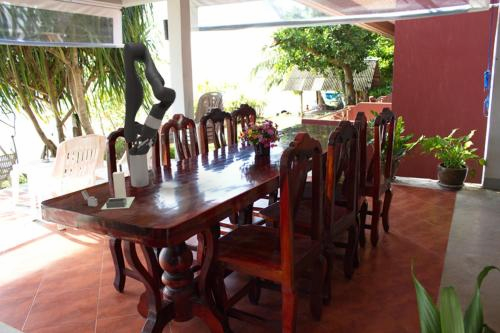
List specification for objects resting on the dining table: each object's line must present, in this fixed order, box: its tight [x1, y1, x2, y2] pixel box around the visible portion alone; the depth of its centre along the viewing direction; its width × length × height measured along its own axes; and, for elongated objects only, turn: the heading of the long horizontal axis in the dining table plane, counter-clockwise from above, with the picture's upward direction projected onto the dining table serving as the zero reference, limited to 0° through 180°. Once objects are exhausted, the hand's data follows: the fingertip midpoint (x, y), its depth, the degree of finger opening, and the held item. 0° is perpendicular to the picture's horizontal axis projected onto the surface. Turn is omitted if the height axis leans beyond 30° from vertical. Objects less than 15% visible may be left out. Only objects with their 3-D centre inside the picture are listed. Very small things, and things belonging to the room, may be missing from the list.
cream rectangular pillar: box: [112, 163, 127, 199], centre depth 206 cm, size 3×4×17 cm, turn 96°
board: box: [101, 196, 135, 210], centre depth 202 cm, size 18×12×4 cm, turn 6°
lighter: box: [81, 189, 99, 207], centre depth 199 cm, size 7×2×8 cm, turn 69°
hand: (139, 153), depth 218 cm, fingers open, 8 cm apart
